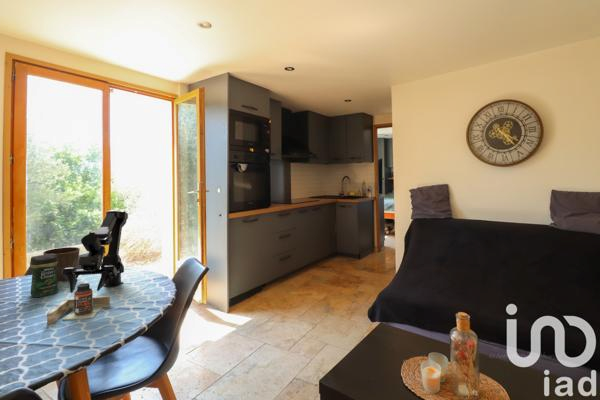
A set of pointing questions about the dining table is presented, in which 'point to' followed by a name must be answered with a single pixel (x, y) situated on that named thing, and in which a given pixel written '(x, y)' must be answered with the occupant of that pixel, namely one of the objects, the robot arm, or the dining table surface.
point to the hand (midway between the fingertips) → (84, 291)
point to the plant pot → (64, 259)
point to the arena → (69, 304)
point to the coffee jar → (44, 275)
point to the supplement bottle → (83, 299)
